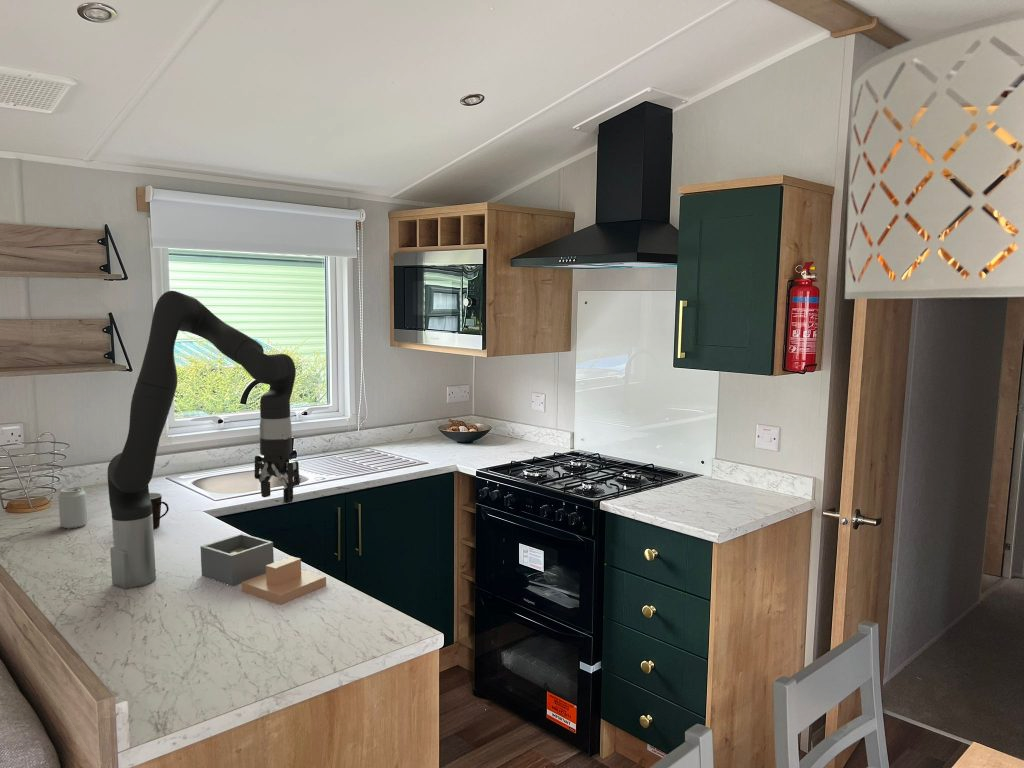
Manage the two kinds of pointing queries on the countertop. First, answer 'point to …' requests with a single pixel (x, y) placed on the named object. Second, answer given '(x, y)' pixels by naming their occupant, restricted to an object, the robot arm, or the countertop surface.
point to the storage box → (236, 559)
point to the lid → (283, 581)
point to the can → (72, 507)
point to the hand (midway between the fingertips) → (277, 499)
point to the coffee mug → (157, 508)
